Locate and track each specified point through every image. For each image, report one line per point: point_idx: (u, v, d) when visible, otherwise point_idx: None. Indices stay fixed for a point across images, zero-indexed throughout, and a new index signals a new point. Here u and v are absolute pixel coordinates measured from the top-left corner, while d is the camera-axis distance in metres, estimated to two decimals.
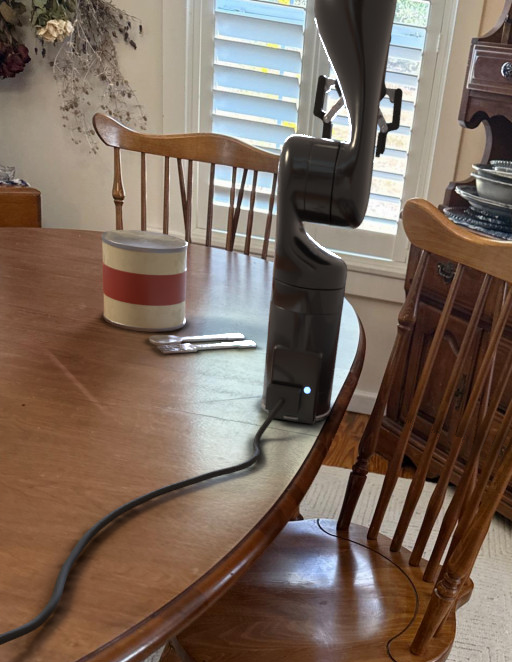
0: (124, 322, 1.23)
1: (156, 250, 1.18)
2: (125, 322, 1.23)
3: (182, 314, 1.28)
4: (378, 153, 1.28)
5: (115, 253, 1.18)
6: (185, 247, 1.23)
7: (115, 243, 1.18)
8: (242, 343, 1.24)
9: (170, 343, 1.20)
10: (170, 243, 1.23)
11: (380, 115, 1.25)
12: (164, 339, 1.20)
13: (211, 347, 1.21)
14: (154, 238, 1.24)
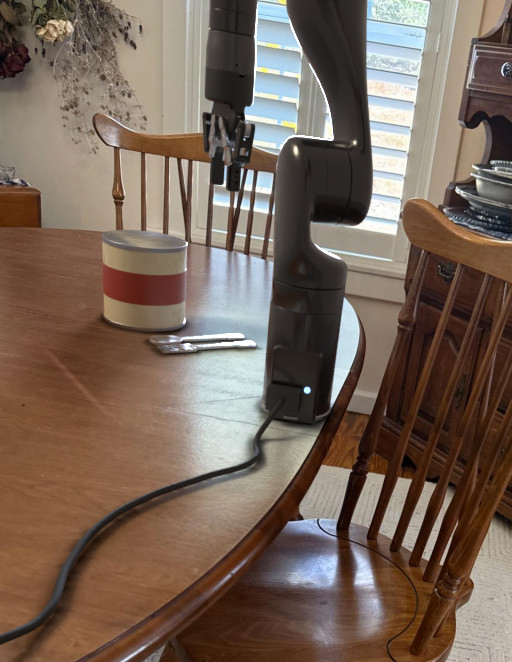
0: (124, 322, 1.23)
1: (156, 250, 1.18)
2: (125, 322, 1.23)
3: (182, 314, 1.28)
4: (227, 186, 1.23)
5: (115, 253, 1.18)
6: (185, 247, 1.23)
7: (115, 243, 1.18)
8: (242, 343, 1.24)
9: (170, 343, 1.20)
10: (170, 243, 1.23)
11: (226, 147, 1.20)
12: (164, 339, 1.20)
13: (211, 347, 1.21)
14: (154, 238, 1.24)
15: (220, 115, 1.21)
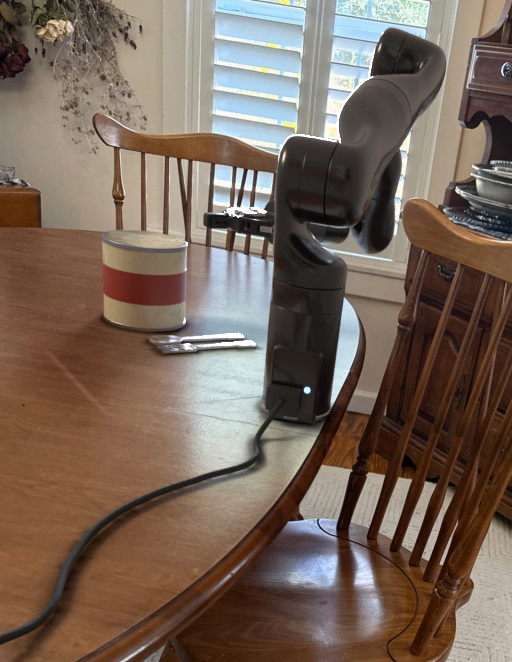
0: (124, 322, 1.23)
1: (156, 250, 1.18)
2: (125, 322, 1.23)
3: (182, 314, 1.28)
4: (210, 214, 1.27)
5: (115, 253, 1.18)
6: (185, 247, 1.23)
7: (115, 243, 1.18)
8: (242, 343, 1.24)
9: (170, 343, 1.20)
10: (170, 243, 1.23)
11: (243, 213, 1.29)
12: (164, 339, 1.20)
13: (211, 347, 1.21)
14: (154, 238, 1.24)
15: None
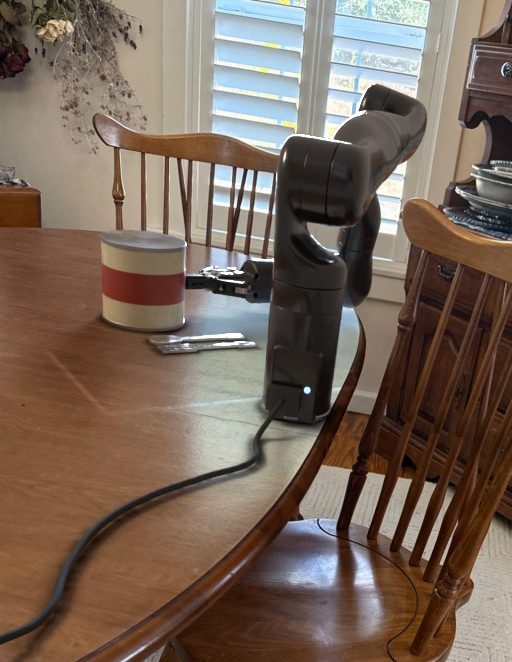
0: (123, 322, 1.23)
1: (155, 250, 1.18)
2: (124, 322, 1.23)
3: (181, 314, 1.28)
4: (186, 275, 1.29)
5: (114, 253, 1.18)
6: (184, 247, 1.23)
7: (114, 243, 1.18)
8: (242, 343, 1.24)
9: (170, 343, 1.20)
10: (169, 243, 1.23)
11: (219, 274, 1.32)
12: (164, 339, 1.20)
13: (211, 347, 1.21)
14: (153, 238, 1.24)
15: None
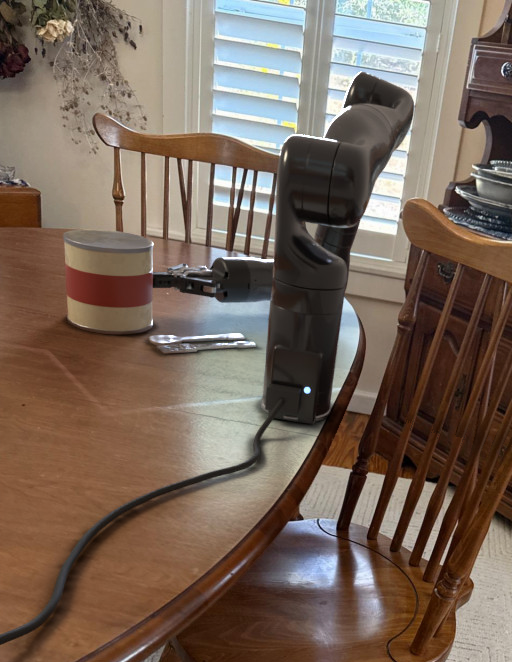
0: (91, 325, 1.19)
1: (123, 250, 1.15)
2: (93, 325, 1.19)
3: (150, 315, 1.25)
4: (153, 274, 1.26)
5: (80, 254, 1.15)
6: (151, 246, 1.20)
7: (80, 244, 1.14)
8: (242, 343, 1.24)
9: (170, 343, 1.20)
10: (136, 242, 1.19)
11: (187, 273, 1.28)
12: (164, 339, 1.20)
13: (211, 347, 1.21)
14: (118, 237, 1.20)
15: None
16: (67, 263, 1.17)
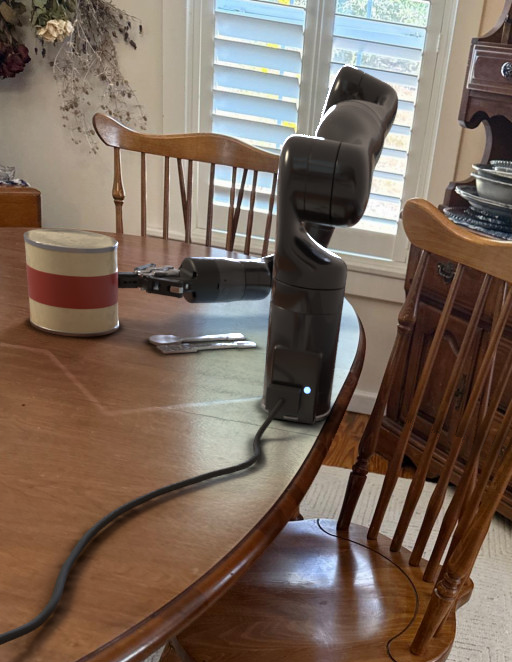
0: (56, 328, 1.16)
1: (87, 250, 1.12)
2: (57, 328, 1.16)
3: (116, 316, 1.22)
4: (118, 273, 1.23)
5: (42, 255, 1.11)
6: (116, 245, 1.17)
7: (42, 244, 1.10)
8: (242, 343, 1.24)
9: (170, 343, 1.20)
10: (99, 242, 1.16)
11: (154, 273, 1.25)
12: (164, 339, 1.20)
13: (211, 347, 1.21)
14: (81, 237, 1.17)
15: None
16: (28, 264, 1.14)
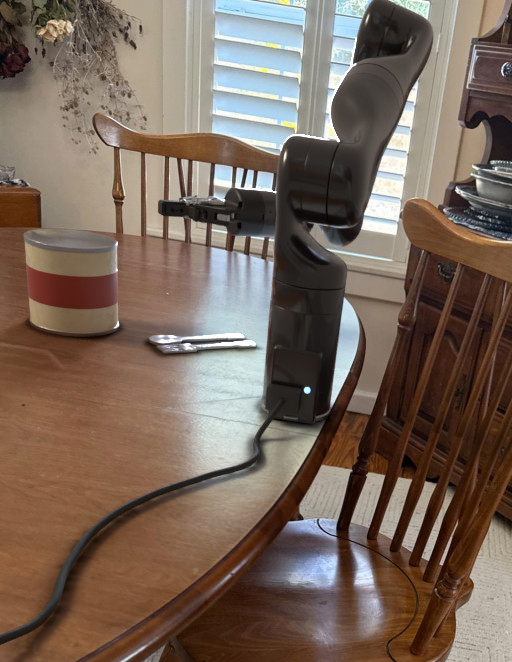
0: (56, 328, 1.16)
1: (87, 250, 1.12)
2: (57, 328, 1.16)
3: (116, 316, 1.22)
4: (165, 201, 1.21)
5: (42, 255, 1.11)
6: (116, 246, 1.17)
7: (42, 244, 1.10)
8: (242, 343, 1.24)
9: (170, 343, 1.20)
10: (99, 242, 1.16)
11: (200, 201, 1.24)
12: (164, 339, 1.20)
13: (211, 347, 1.21)
14: (80, 237, 1.17)
15: None
16: (28, 264, 1.14)
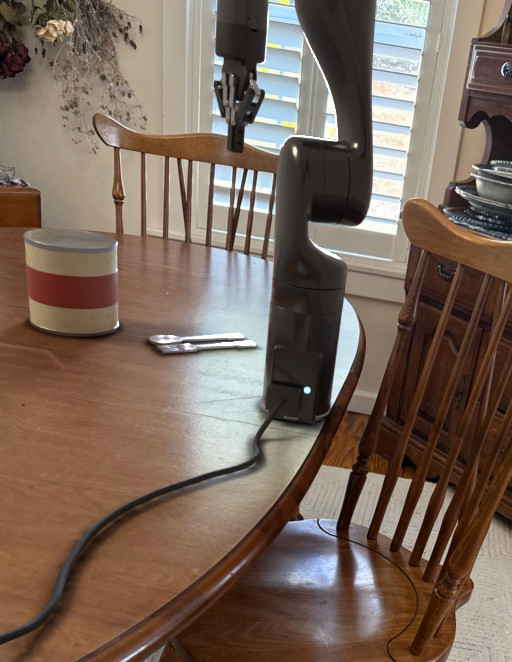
0: (56, 328, 1.16)
1: (87, 250, 1.12)
2: (57, 328, 1.16)
3: (116, 316, 1.22)
4: (230, 147, 1.21)
5: (42, 255, 1.11)
6: (116, 246, 1.17)
7: (42, 244, 1.10)
8: (242, 343, 1.24)
9: (170, 343, 1.20)
10: (99, 242, 1.16)
11: (232, 107, 1.18)
12: (164, 339, 1.20)
13: (211, 347, 1.21)
14: (80, 237, 1.17)
15: (231, 72, 1.17)
16: (28, 264, 1.14)
